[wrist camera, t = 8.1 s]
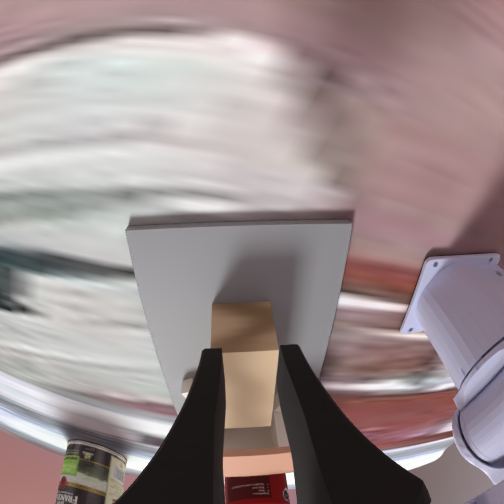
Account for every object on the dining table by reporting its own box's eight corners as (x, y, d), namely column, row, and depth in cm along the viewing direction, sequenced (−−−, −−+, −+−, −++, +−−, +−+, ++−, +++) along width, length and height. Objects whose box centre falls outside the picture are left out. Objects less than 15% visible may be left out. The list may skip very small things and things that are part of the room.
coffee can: (57, 442, 36) (42, 513, 24) (87, 436, 34) (72, 520, 22) (104, 466, 41) (96, 532, 29) (139, 462, 39) (133, 538, 27)
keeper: (349, 219, 19) (393, 279, 14) (302, 426, 33) (311, 473, 28) (127, 226, 19) (92, 291, 13) (186, 431, 32) (184, 479, 27)
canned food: (259, 460, 39) (266, 524, 30) (212, 452, 36) (214, 522, 27) (293, 442, 36) (305, 514, 27) (243, 432, 33) (250, 514, 24)
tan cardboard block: (270, 301, 22) (278, 350, 18) (265, 384, 27) (270, 425, 23) (212, 303, 21) (210, 353, 18) (221, 386, 27) (222, 428, 23)
